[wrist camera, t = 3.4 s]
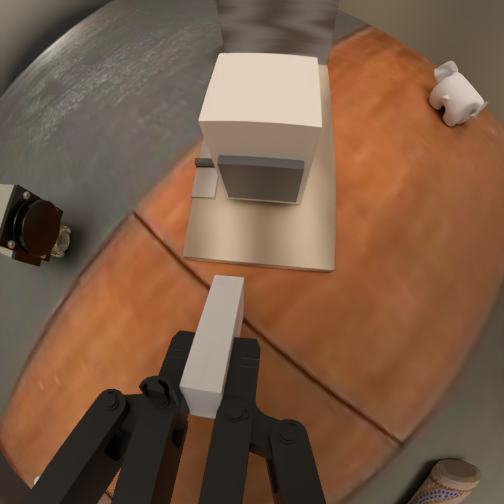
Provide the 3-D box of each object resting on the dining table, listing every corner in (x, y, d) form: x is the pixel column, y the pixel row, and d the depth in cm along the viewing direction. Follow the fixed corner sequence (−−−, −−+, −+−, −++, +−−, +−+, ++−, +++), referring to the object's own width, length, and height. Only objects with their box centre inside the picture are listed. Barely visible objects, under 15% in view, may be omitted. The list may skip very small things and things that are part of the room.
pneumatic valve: (36, 215, 25) (-32, 179, 13) (100, 228, 24) (17, 178, 12) (24, 258, 24) (-48, 234, 12) (87, 281, 23) (-7, 258, 11)
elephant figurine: (479, 129, 25) (504, 102, 18) (447, 139, 24) (475, 107, 17) (448, 89, 26) (467, 60, 19) (411, 94, 26) (431, 57, 19)
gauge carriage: (302, 130, 23) (316, 45, 13) (300, 211, 21) (322, 137, 12) (206, 126, 24) (180, 45, 14) (190, 203, 22) (141, 133, 12)
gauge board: (323, 56, 28) (335, -20, 15) (330, 272, 22) (396, 229, 10) (232, 51, 29) (220, -25, 16) (187, 259, 23) (109, 206, 11)
